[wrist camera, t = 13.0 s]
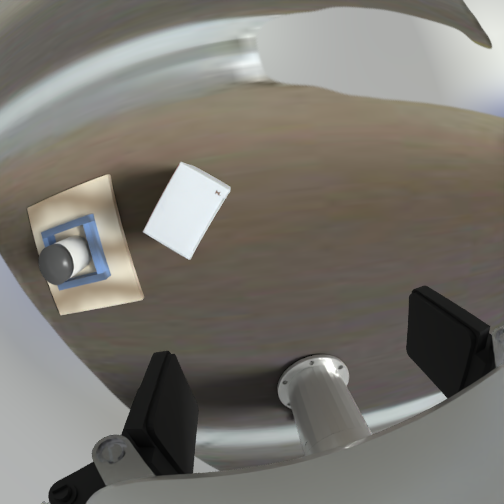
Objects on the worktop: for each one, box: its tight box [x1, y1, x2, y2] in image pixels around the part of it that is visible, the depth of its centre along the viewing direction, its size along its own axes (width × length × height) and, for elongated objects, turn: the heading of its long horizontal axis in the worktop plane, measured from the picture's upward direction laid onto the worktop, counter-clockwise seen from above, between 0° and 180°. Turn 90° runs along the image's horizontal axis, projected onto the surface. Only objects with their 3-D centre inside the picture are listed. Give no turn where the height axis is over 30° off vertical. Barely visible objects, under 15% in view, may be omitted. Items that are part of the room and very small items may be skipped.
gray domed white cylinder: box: [39, 235, 92, 285], centre depth 32 cm, size 5×5×7 cm
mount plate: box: [27, 174, 144, 315], centre depth 34 cm, size 18×16×3 cm
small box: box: [143, 162, 230, 260], centre depth 31 cm, size 8×6×10 cm
